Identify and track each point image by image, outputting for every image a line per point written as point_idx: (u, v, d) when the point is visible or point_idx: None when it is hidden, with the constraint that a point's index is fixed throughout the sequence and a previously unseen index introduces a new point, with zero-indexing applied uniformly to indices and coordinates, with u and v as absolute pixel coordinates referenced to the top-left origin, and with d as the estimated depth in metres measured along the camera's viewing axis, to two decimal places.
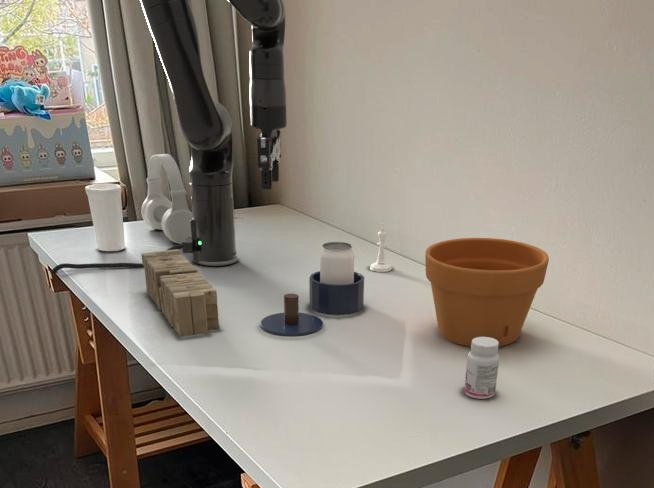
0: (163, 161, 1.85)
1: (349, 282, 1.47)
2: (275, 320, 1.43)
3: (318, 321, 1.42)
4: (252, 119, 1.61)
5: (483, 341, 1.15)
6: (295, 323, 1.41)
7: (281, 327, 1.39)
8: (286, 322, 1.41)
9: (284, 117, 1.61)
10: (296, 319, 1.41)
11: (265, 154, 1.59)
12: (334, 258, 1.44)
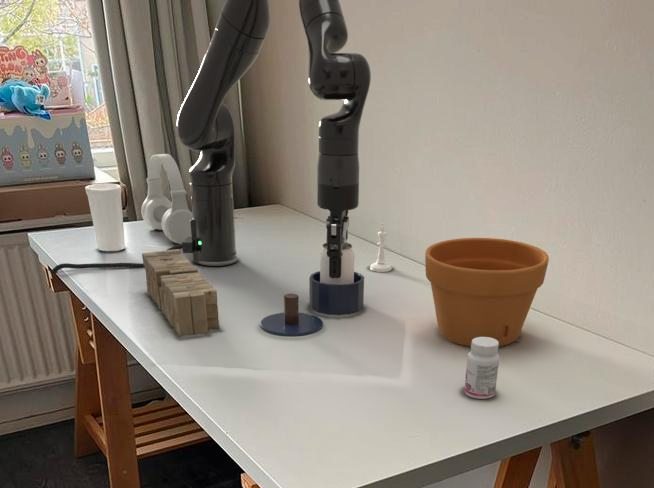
0: (163, 161, 1.85)
1: (349, 282, 1.47)
2: (275, 320, 1.43)
3: (318, 321, 1.42)
4: (320, 199, 1.39)
5: (483, 341, 1.15)
6: (295, 323, 1.41)
7: (281, 327, 1.39)
8: (286, 322, 1.41)
9: (357, 196, 1.40)
10: (296, 319, 1.41)
11: (336, 242, 1.39)
12: None
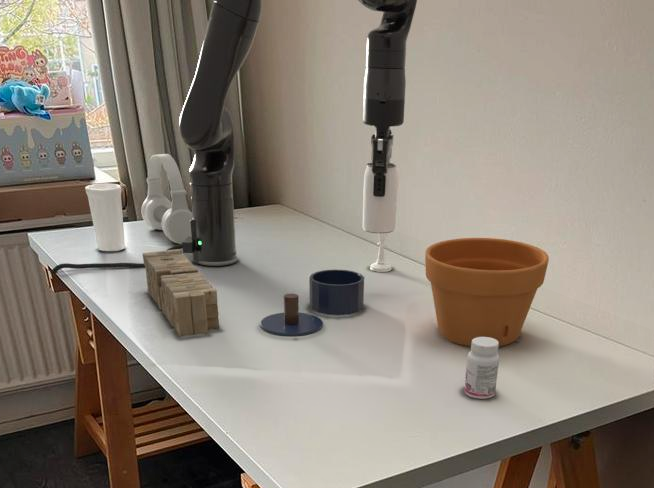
0: (163, 161, 1.85)
1: (392, 202, 1.48)
2: (275, 320, 1.43)
3: (318, 321, 1.42)
4: (366, 115, 1.40)
5: (483, 341, 1.15)
6: (295, 323, 1.41)
7: (281, 327, 1.39)
8: (286, 322, 1.41)
9: (402, 112, 1.40)
10: (296, 319, 1.41)
11: (382, 158, 1.39)
12: None
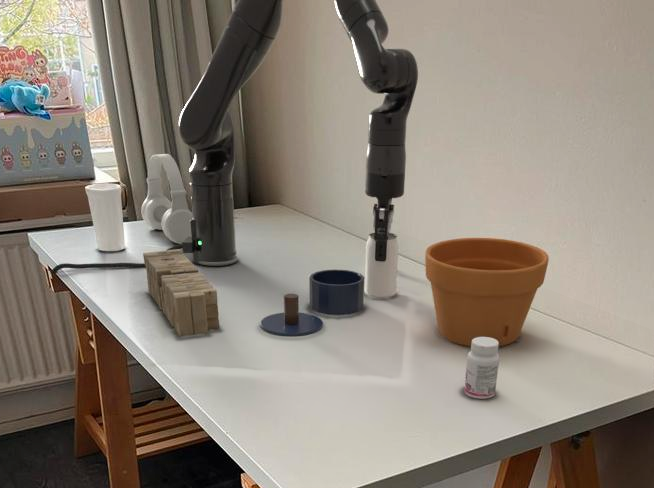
0: (163, 161, 1.85)
1: (393, 270, 1.55)
2: (275, 320, 1.43)
3: (318, 321, 1.42)
4: (368, 187, 1.47)
5: (483, 341, 1.15)
6: (295, 323, 1.41)
7: (281, 327, 1.39)
8: (286, 322, 1.41)
9: (403, 185, 1.47)
10: (296, 319, 1.41)
11: (383, 226, 1.46)
12: None
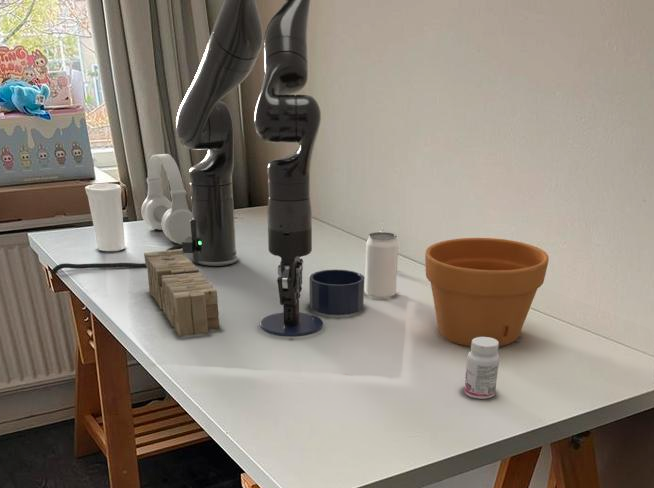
0: (163, 161, 1.85)
1: (393, 270, 1.55)
2: (275, 320, 1.43)
3: (318, 321, 1.42)
4: (270, 245, 1.33)
5: (483, 341, 1.15)
6: None
7: (281, 327, 1.39)
8: None
9: (309, 242, 1.33)
10: (296, 319, 1.41)
11: (288, 295, 1.34)
12: (380, 247, 1.52)
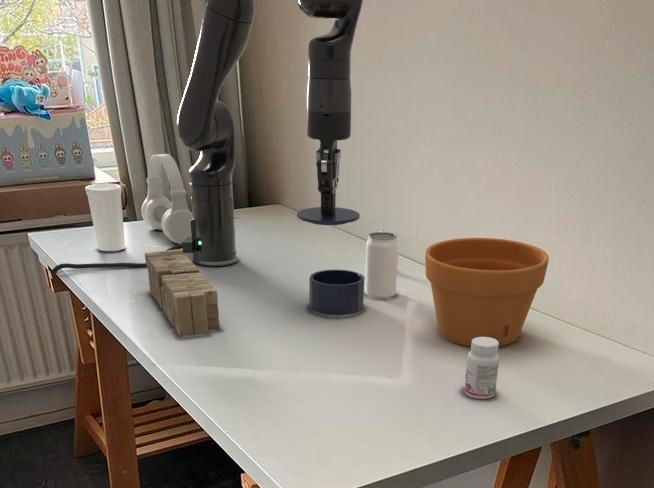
0: (163, 161, 1.85)
1: (393, 270, 1.55)
2: (311, 212, 1.41)
3: (355, 213, 1.41)
4: (310, 128, 1.31)
5: (483, 341, 1.15)
6: None
7: (318, 217, 1.38)
8: None
9: (348, 125, 1.32)
10: None
11: (327, 179, 1.32)
12: (380, 247, 1.52)
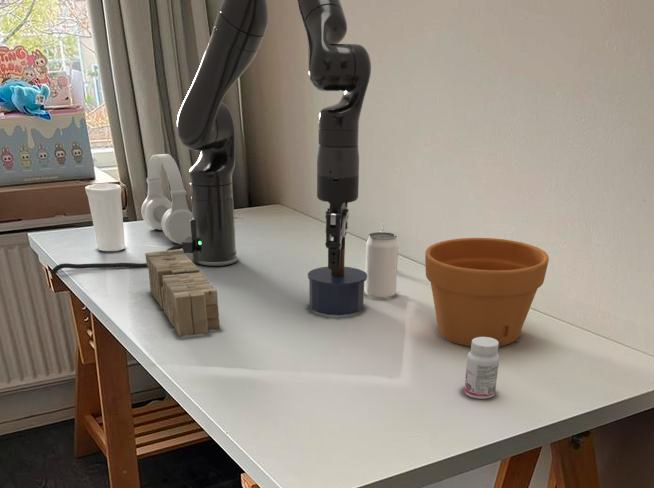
0: (163, 161, 1.85)
1: (393, 270, 1.55)
2: (321, 272, 1.49)
3: (362, 273, 1.49)
4: (319, 191, 1.39)
5: (483, 341, 1.15)
6: (341, 275, 1.48)
7: (328, 278, 1.46)
8: (332, 274, 1.48)
9: (356, 189, 1.39)
10: (342, 271, 1.47)
11: (335, 232, 1.38)
12: (380, 247, 1.52)
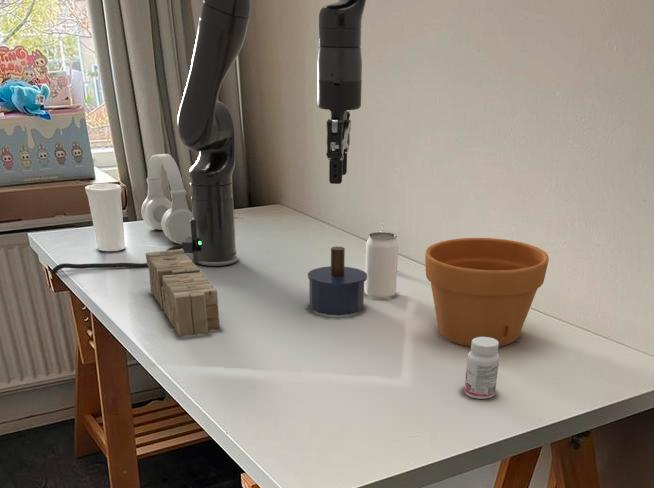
0: (163, 161, 1.85)
1: (393, 270, 1.55)
2: (321, 272, 1.49)
3: (362, 273, 1.49)
4: (320, 98, 1.31)
5: (483, 341, 1.15)
6: (341, 275, 1.48)
7: (328, 278, 1.46)
8: (332, 274, 1.48)
9: (359, 95, 1.31)
10: (342, 271, 1.47)
11: (337, 140, 1.30)
12: (380, 247, 1.52)
